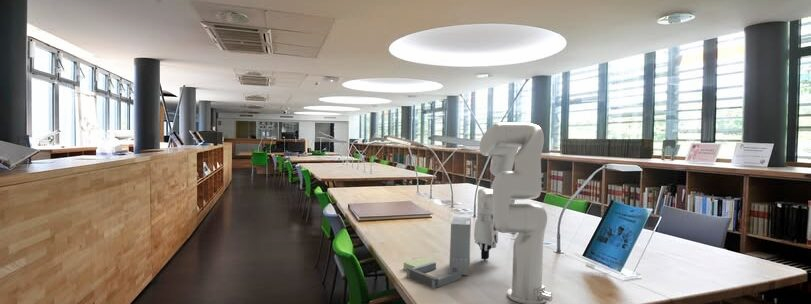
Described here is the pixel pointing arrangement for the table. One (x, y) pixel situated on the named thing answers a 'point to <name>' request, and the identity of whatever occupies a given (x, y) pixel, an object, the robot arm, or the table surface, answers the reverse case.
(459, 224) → the hard drive box
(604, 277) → the table surface
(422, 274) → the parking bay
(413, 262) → the light green block
